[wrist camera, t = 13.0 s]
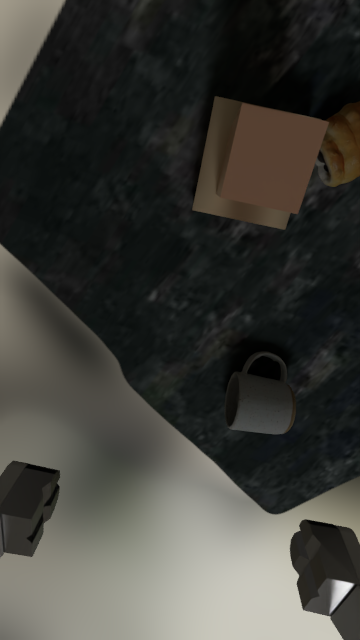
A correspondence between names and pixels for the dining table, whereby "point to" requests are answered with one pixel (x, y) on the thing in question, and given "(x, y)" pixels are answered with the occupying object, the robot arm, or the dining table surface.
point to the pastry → (341, 147)
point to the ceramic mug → (260, 400)
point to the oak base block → (211, 171)
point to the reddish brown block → (270, 158)
